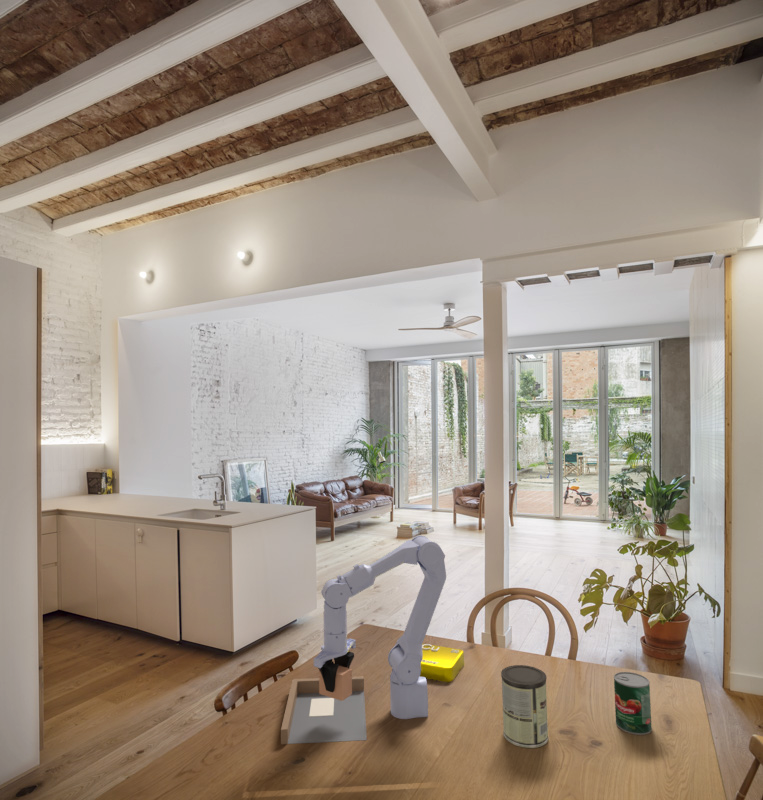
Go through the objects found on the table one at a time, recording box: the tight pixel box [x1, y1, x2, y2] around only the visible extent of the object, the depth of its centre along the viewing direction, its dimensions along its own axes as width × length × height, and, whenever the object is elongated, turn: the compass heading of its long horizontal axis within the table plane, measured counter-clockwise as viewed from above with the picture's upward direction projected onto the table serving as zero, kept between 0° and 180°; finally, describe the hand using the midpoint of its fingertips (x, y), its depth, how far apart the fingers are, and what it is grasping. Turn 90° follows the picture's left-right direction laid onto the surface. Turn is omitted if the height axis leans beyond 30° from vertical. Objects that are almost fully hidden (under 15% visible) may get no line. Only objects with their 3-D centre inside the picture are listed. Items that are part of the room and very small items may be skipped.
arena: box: [280, 675, 368, 745], centre depth 138 cm, size 20×26×4 cm
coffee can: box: [500, 664, 549, 749], centre depth 128 cm, size 10×10×14 cm
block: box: [318, 666, 353, 701], centre depth 135 cm, size 7×4×6 cm, turn 58°
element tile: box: [420, 643, 465, 683], centre depth 165 cm, size 15×15×5 cm
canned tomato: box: [613, 671, 653, 736], centre depth 132 cm, size 8×8×11 cm
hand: (335, 687), depth 135 cm, fingers closed on block, 4 cm apart
